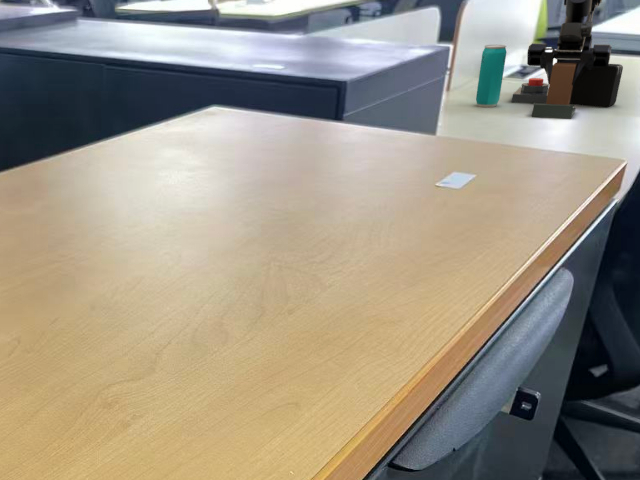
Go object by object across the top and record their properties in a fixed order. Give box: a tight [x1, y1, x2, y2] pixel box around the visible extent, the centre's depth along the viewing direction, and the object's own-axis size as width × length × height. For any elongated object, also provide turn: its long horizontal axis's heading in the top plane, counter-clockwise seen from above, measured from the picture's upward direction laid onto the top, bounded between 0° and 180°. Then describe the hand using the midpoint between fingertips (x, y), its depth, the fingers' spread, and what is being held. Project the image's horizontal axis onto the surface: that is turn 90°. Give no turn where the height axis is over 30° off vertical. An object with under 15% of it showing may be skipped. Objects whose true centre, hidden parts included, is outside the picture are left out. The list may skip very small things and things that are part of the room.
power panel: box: [511, 82, 549, 104], centre depth 232 cm, size 12×9×4 cm
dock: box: [531, 103, 576, 120], centre depth 213 cm, size 8×9×3 cm
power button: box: [527, 77, 545, 86], centre depth 231 cm, size 4×4×2 cm
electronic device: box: [569, 63, 624, 108], centre depth 221 cm, size 4×10×10 cm, turn 44°
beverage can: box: [475, 44, 507, 108], centre depth 224 cm, size 6×6×15 cm
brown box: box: [546, 62, 577, 105], centre depth 216 cm, size 5×5×11 cm
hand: (560, 83), depth 214 cm, fingers closed on brown box, 5 cm apart
